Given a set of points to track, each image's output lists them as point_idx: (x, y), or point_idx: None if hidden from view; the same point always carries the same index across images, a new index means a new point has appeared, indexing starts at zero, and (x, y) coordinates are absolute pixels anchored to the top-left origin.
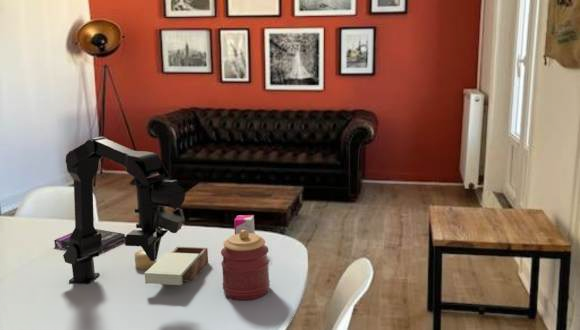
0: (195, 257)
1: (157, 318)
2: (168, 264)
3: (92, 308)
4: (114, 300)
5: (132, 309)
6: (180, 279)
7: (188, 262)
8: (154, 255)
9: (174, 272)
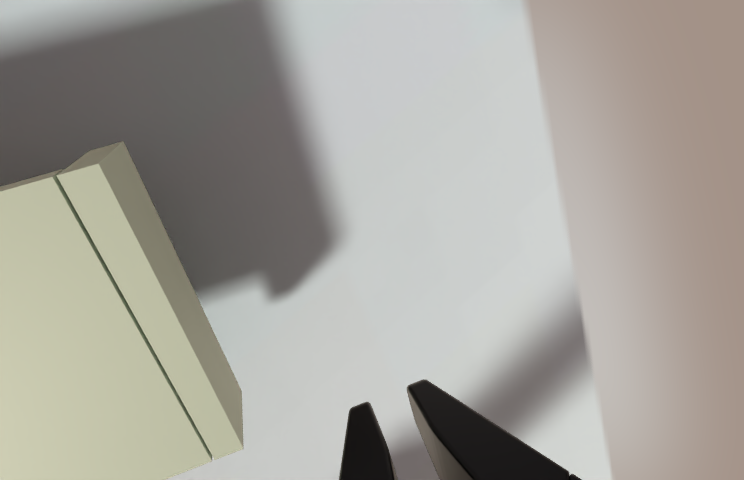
0: None
1: (470, 74)
2: None
3: None
4: None
5: (423, 273)
6: (111, 156)
7: None
8: (478, 420)
9: (88, 258)
